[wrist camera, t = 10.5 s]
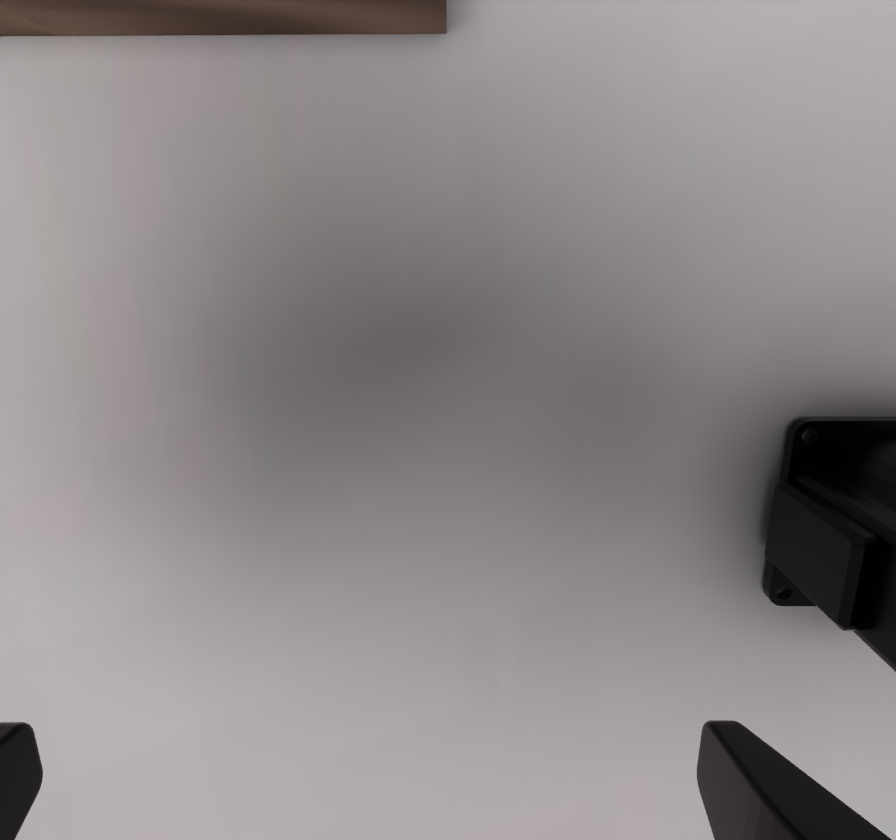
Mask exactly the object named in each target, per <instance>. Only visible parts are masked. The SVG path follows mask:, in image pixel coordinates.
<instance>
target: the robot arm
mask: <svg viewBox="0 0 896 840" xmlns="http://www.w3.org/2000/svg"><path fill="white" fill-rule="evenodd" d="M807 429H811V434H810V436H809V437H808V438H807V439H805V440H802V435H803V433H804V432H805V431H806V430H807ZM765 555H766V556H767V557H768V560H767V566H766V572H765V579H764V585H763V589H764V593H765V595H766V596H767V597H768V598H769V599H770V600H771V602H773V603H774V604H776V605H779V606H818V607H819V608H820V609H821V610H822V611H823V612H824V613H825V614H826V615H827V616H828V617H829V618H830V619H831V620H832V621H833V622H834V623H835V624H836V625H837V626H838V627H839V628H840V629H842V630H844V631H853V632H854V633H856V634H857V635H858V636H859V637H860V638H861V639H862V640H863V641H864V642H865V643H866V644H867V645H868V646H869V647H870V648H871V649H872V650H873V651H874V652H875V653H877V654H878V655H879V656H880V657H881V658H882V659H883V660H884V661H885V662H886V663H887V664H888V665H889V666H890V667H891V668H892V669H893V670H894V671H895V672H896V417H805V418H800V419H798V420H796V421H794V422H793V423H792V424H791V425H790V427H789V429H788V432H787V437H786V444H785V450H784V457H783V463H782V470H781V476H780V482H779V483H778V484H777V485H776V487H775V489H774V496H773V502H772V509H771V515H770V522H769V528H768V535H767V541H766V548H765ZM783 586H786V587H785V589H784V590H783V591H782V592H780V593H777V591H778V589H779V588H781V587H783ZM42 778H43V769H42V764H41V760H40V756H39V752H38V747H37V743H36V739H35V734H34V731H33V728H32V727H31V726H30V725H29V724H27V723H24V722H1V723H0V840H15V838H16V836H17V834H18V832H19V830H20V828H21V826H22V824H23V822H24V820H25V818H26V816H27V814H28V812H29V810H30V808H31V806H32V804H33V802H34V800H35V798H36V796H37V794H38V792H39V790H40V787H41V783H42ZM697 781H698V786H699V790H700V794H701V797H702V800H703V804H704V807H705V810H706V813H707V816H708V820H709V823H710V826H711V829H712V832H713V836H714V839H715V840H891V839H890V838H889V837H887V836H886V835H885V834H884V833H882V832H881V831H880V830H878V829H877V828H876V827H874V826H873V825H872V824H871V823H869V822H868V821H867V820H865V819H864V818H863V817H861V816H860V815H859V814H858V813H856V812H855V811H854V810H852V809H851V808H850V807H848V806H847V805H846V804H845V803H843V802H842V801H841V800H839V799H838V798H837V797H835V796H834V795H833V794H832V793H830V792H829V791H828V790H826V789H825V788H824V787H822V786H821V785H820V784H819V783H817V782H816V781H815V780H813V779H812V778H811V777H809V776H808V775H807V774H806V773H804V772H803V771H802V770H800V769H799V768H798V767H796V766H795V765H794V764H793V763H791V762H790V761H789V760H787V759H786V758H785V757H783V756H782V755H781V754H780V753H778V752H777V751H776V750H774V749H773V748H772V747H770V746H769V745H768V744H767V743H765V742H764V741H763V740H761V739H760V738H759V737H757V736H756V735H755V734H754V733H752V732H751V731H750V730H748V729H747V728H746V727H744V726H743V725H742V724H740V723H738V722H736V721H708V722H706V723H705V724H704V726H703V729H702V734H701V742H700V749H699V757H698V764H697Z"/></svg>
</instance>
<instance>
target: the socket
mask: <svg viewBox="0 0 896 840" xmlns="http://www.w3.org/2000/svg"><path fill="white" fill-rule="evenodd" d="M399 33H446V0H0V36H59V35H229V34H399Z"/></svg>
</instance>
